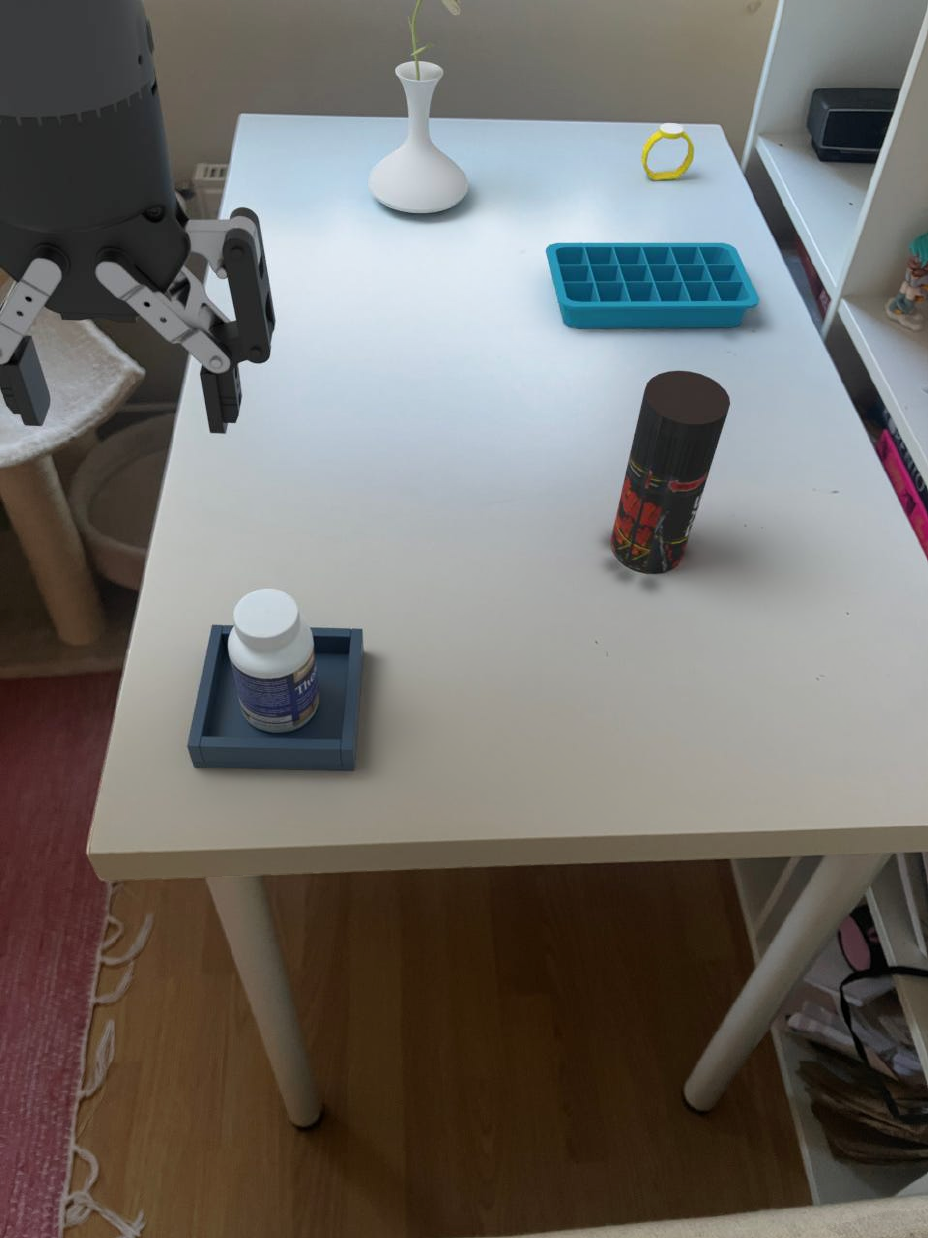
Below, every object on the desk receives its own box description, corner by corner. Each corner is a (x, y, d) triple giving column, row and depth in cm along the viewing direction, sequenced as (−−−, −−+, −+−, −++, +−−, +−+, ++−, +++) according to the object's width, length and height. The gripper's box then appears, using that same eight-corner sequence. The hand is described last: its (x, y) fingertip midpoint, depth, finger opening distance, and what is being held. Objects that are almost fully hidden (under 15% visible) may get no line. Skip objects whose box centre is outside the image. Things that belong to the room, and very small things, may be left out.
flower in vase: (467, 226, 112) (480, -30, 92) (364, 221, 111) (356, -36, 92) (468, 169, 120) (480, -76, 101) (372, 164, 120) (366, -82, 100)
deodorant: (614, 514, 83) (648, 364, 72) (686, 527, 83) (731, 378, 71) (606, 566, 79) (640, 416, 68) (681, 579, 79) (728, 430, 67)
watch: (684, 171, 122) (695, 121, 117) (690, 182, 120) (701, 132, 116) (636, 172, 121) (645, 122, 117) (641, 183, 120) (651, 133, 115)
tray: (193, 767, 66) (186, 746, 64) (217, 646, 73) (211, 624, 71) (354, 771, 67) (352, 749, 65) (363, 650, 73) (362, 628, 71)
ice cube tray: (754, 331, 101) (762, 305, 99) (556, 333, 99) (560, 306, 97) (726, 268, 108) (733, 242, 106) (541, 268, 107) (544, 242, 104)
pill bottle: (315, 737, 67) (304, 648, 60) (235, 734, 67) (214, 644, 60) (324, 673, 71) (314, 581, 63) (247, 669, 71) (229, 577, 63)
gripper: (-210, 94, 33) (-46, 467, 45) (233, 119, 33) (273, 478, 46) (-129, 3, 37) (-1, 364, 50) (258, 28, 38) (288, 376, 51)
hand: (131, 418), depth 48 cm, fingers open, 8 cm apart
